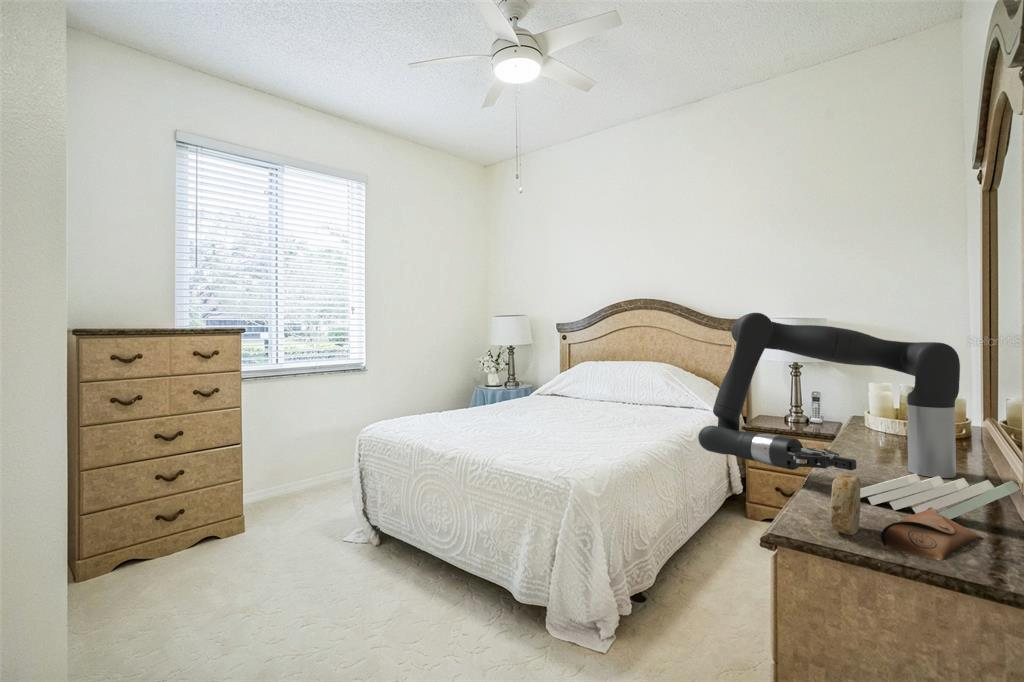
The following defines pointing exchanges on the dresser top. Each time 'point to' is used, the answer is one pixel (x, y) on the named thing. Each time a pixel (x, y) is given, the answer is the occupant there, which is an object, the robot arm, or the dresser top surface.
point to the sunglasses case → (927, 535)
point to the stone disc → (845, 504)
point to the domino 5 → (980, 500)
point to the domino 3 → (929, 494)
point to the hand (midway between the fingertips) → (854, 465)
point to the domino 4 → (956, 496)
